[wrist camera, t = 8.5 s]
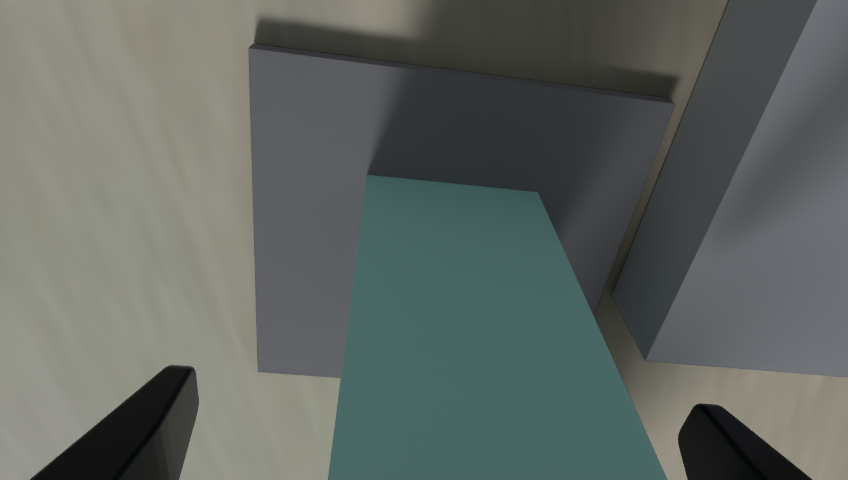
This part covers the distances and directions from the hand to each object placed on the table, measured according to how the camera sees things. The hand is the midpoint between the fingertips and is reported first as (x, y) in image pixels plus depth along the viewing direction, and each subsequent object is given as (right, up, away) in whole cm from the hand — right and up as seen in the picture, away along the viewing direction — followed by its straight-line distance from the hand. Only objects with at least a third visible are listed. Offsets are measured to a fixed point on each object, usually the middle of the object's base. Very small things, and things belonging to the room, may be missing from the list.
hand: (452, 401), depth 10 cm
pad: (0, +3, +4) cm, 5 cm away
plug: (0, +3, +4) cm, 5 cm away
